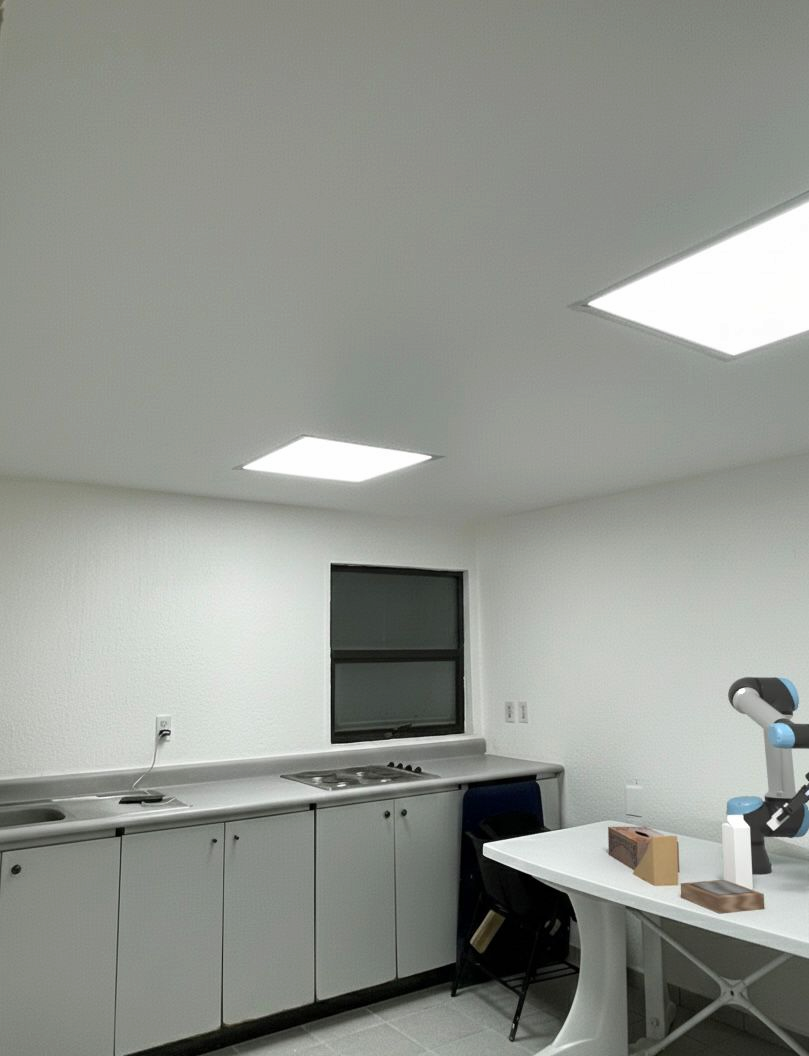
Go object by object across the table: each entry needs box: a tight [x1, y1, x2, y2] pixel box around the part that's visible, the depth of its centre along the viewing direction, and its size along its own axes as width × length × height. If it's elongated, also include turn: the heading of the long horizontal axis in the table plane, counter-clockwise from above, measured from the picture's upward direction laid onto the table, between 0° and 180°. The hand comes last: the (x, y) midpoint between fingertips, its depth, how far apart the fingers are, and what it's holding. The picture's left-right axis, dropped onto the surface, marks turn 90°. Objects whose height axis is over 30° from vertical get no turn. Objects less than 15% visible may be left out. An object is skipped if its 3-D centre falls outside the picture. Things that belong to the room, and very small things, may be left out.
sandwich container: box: [632, 835, 679, 887], centre depth 260 cm, size 9×15×15 cm, turn 10°
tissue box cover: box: [607, 826, 680, 874], centre depth 280 cm, size 26×14×10 cm, turn 7°
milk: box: [721, 814, 754, 890], centre depth 251 cm, size 6×6×22 cm
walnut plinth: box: [680, 879, 765, 914], centre depth 234 cm, size 16×16×4 cm
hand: (772, 823), depth 247 cm, fingers open, 13 cm apart
